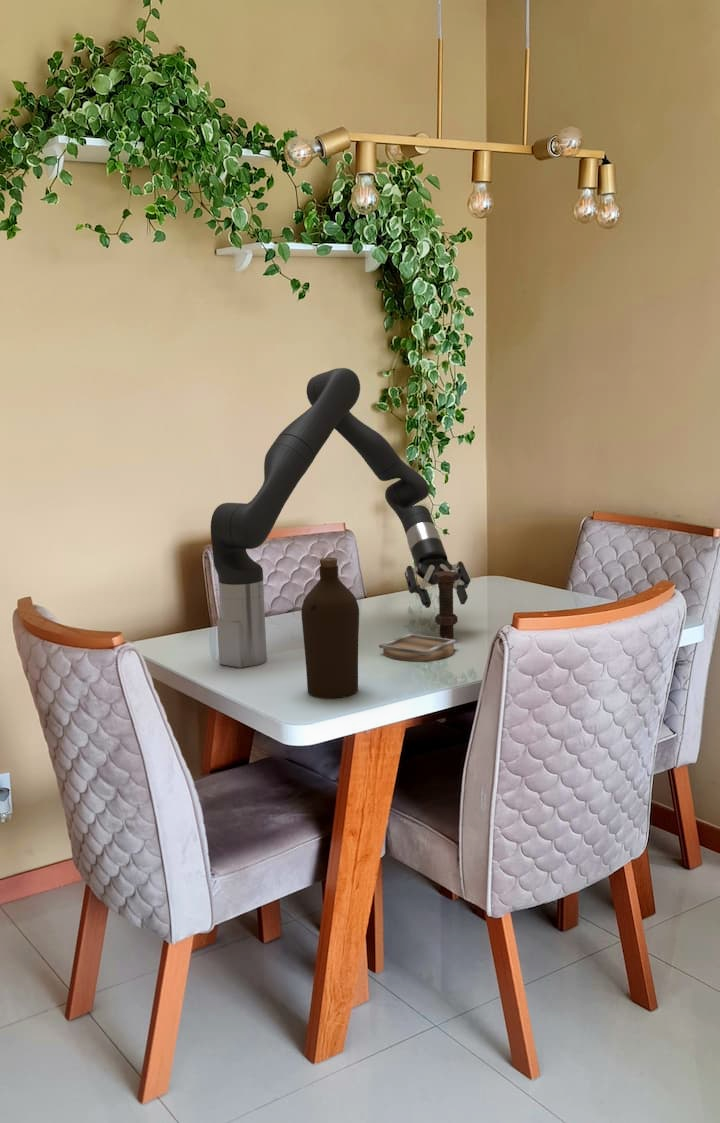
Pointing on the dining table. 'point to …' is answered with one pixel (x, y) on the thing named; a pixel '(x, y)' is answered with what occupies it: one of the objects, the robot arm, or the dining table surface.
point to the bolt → (446, 602)
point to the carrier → (418, 648)
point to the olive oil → (331, 635)
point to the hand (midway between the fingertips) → (446, 604)
